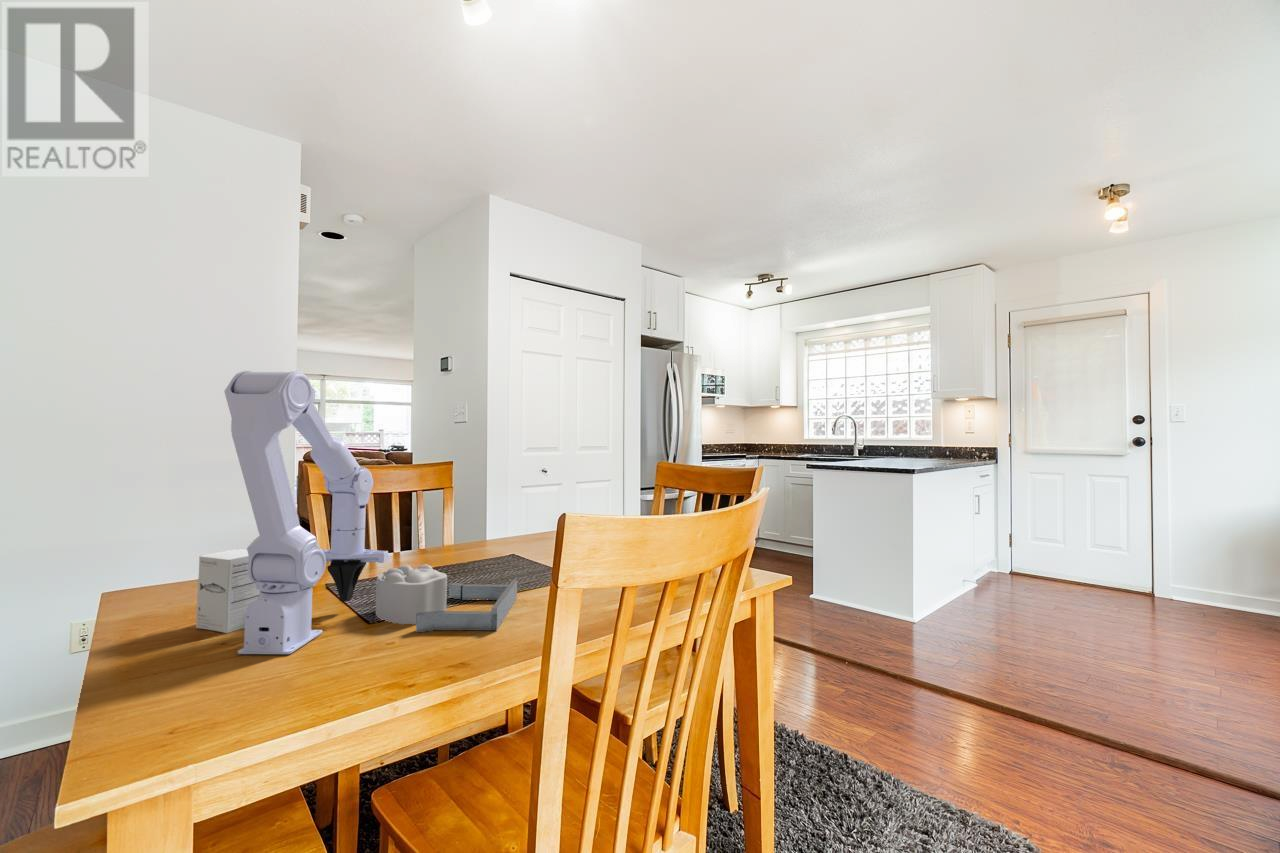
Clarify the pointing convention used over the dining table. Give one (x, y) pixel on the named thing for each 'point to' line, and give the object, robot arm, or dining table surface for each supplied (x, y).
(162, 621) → the dining table surface
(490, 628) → the bracket
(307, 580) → the robot arm
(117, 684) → the dining table surface
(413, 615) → the lumpy-topped squat cylinder
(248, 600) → the supplement box
